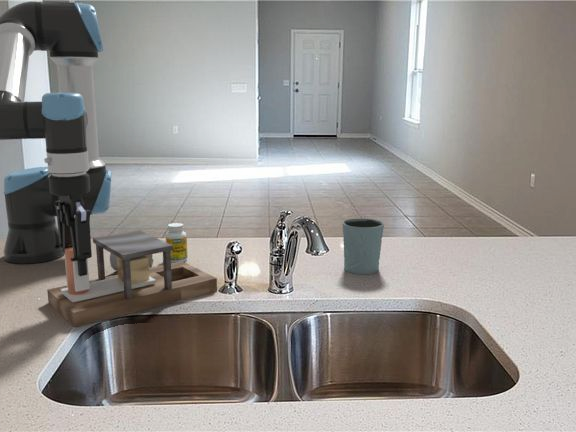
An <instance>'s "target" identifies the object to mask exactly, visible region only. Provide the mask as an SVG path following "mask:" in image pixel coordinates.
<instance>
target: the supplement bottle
mask: <svg viewBox="0 0 576 432" xmlns="http://www.w3.org/2000/svg"><path fill="white" fill-rule="evenodd" d="M184 228H185V227H184V223H180V222H174V223H173V222H172V223H169V224H168V225H167V230H168V232H167V233H166V234H165V242H166V243H168V244H171V245H173V250H171V251H170V256H171V263H175V262H180V261H183V262H186V261H187V260H188V238H187V233H186V232H185V231H184V230H185V229H184Z"/></svg>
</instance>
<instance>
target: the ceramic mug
mask: <svg viewBox="0 0 576 432" xmlns="http://www.w3.org/2000/svg"><path fill="white" fill-rule="evenodd" d="M109 253H110V252H109ZM145 256H146V257H148V261H149V268H151V266H152V265H154V259H153V254H151V255H145ZM109 263H110V267H111V268H112V269H113V270H114V271H116V272H118V270H117V256H116V255H114V254H112V253H110V254H109Z"/></svg>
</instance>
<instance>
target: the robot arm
mask: <svg viewBox="0 0 576 432" xmlns="http://www.w3.org/2000/svg"><path fill="white" fill-rule="evenodd" d="M34 51H36V52H37V51H40V52H41V51H43V52H45V51H46V52H48V53H49V59H50V60H51V61H53V63H54V64H55V65H56V68H57V69H56V70H57V79H58V92H46V93H44V94H43V95H42V97H41V101H25V97H26V86H27V79H28V71H29V70H28V69H29V62H30V56H31V55H32V54H33V53H34ZM103 51H104V46H103V40H102V37H101V31H100V27H99V21H98V16H97V12H96V9H95V6H93V5H91V4H89V3H81V2H63V1H62V2H61V1H60V2H55V1H52V2H51V1H23V2H21V3H18V4H15V5H14V6H12V7H11V8H9V9H7V10H6V11H5V12H3V13H2V14H1V15H0V141H3V140H5V141H6V140H9V141H10V140H27V139H29V140H30V139H31V140H34V139H35V140H37V139H38V140H39V139H43V140H44V139H45V153H46V158H43V159H44V160H43V161H44V163H45V164H47V166H39V167H29V168H26V169H21V170H16V171H14V172H11V173H8V174H7V175H5V177H4V179H3V188H4V189H3V190H4V191H3V195H4V200H5V209H6V219H7V226H8V232H7V234H6V238H5V239H6V240H5V244H4V247H3V257H4V260H5V261H6V262H8V263H11V264H37V263H44V262H48V261H52V260H57V259H59V258H61V257H63V256H65V249H66V248H69V247H73V253H74V258H70V259H71V261H73V272H74V284H75V291H76V292H78V291H82V290H87V289H90V286H89V281H90V277H89V275H90V274H89V262H88V259H90V258H92V256H93V255H92V241H91V240H92V239H91V226H90V225H91V223H90V220H91V216H93V215H96V214H104V213H107V212H108V211H109V208H110V202H111V201H110V200H111V189H112V173H113V172H112V171H111V170H109V169H107V167H106V163H105V162H104V161H103V160H102V159H101V158H100V152H99V151H100V150H99V137H98V123H97V122H98V121H97V110H96V96H95V94H96V93H95V81H94V67H93V66H94V64H95V63H97V61H98V60H99V53H101V52H103ZM56 221H57V223H56ZM64 264H65V267H66V260H65V259H64ZM65 274H66V275H65V277H66V279H67V272H66V271H65ZM67 285H68V283H67V282H66V286H67Z"/></svg>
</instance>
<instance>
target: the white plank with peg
mask: <svg viewBox="0 0 576 432" xmlns="http://www.w3.org/2000/svg"><path fill="white" fill-rule="evenodd" d="M70 258H74V253H73V247H69V248H66V249H65V255H64V261H65V260H66V266H65V273H66V272H67V278H66V284H67V283H68V288H63V289H61V293H62V294H63V295H64V296H65V297H67V298H68V299H69V300H70V301H71V302H78V301H82V300H86V299H91V298H95V297H99V296H104V295H108V294H112V293H117V292H121V291H124V282H123V281H121V280H120V279H118V277H115V278H110V279H105V280H101V281H96V282H91V283H89V286H90V289H87V290H82V291H78V292H76V291H75V284H74V272H73V261H71V259H70ZM151 284H156V280H155V279H153V278H152V277H150V276H149V280H146V281H141V282H137V283H132V284H131V287H132V289H134V288H138V287H143V286H147V285H151Z"/></svg>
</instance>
